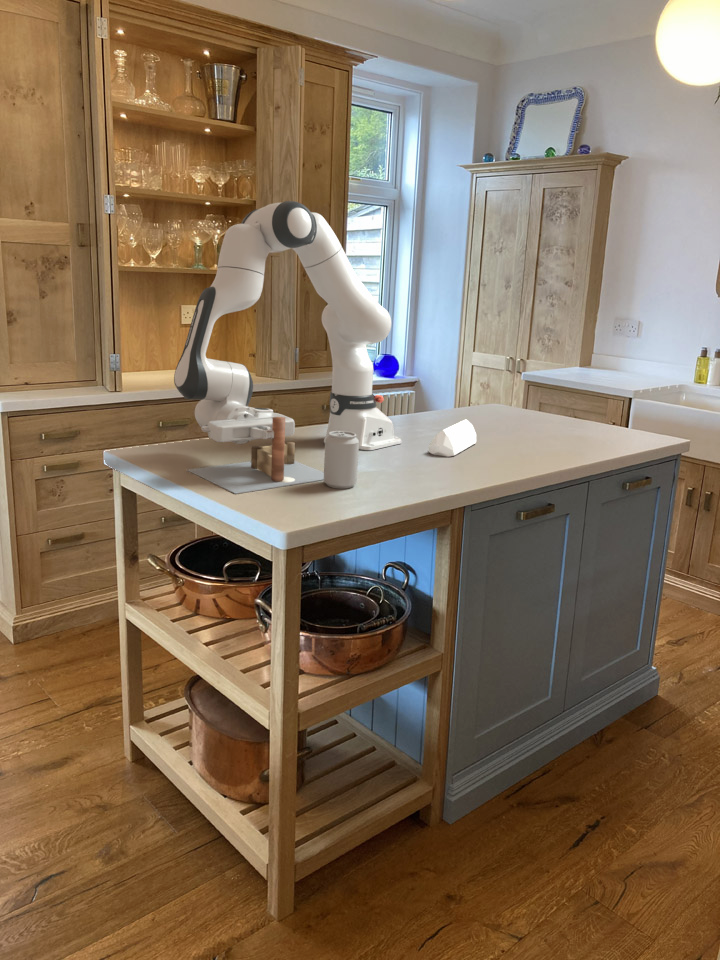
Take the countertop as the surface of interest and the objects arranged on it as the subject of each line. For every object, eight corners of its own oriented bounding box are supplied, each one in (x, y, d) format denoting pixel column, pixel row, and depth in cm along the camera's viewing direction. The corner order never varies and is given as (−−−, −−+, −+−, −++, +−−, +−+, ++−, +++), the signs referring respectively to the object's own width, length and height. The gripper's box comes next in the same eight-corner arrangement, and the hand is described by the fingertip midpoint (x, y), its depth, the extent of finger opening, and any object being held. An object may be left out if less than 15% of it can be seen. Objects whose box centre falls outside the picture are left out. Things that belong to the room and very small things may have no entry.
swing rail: (253, 468, 182) (254, 409, 178) (264, 467, 183) (265, 409, 179) (274, 481, 172) (275, 419, 168) (285, 480, 173) (287, 418, 170)
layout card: (284, 457, 196) (284, 456, 196) (337, 477, 180) (337, 477, 179) (186, 470, 179) (187, 469, 179) (235, 494, 163) (235, 493, 163)
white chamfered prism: (459, 446, 202) (485, 431, 223) (438, 429, 204) (466, 416, 225) (443, 467, 206) (471, 451, 227) (423, 451, 207) (452, 436, 228)
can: (327, 490, 170) (329, 436, 166) (320, 480, 176) (322, 429, 173) (360, 489, 172) (363, 436, 168) (351, 480, 178) (354, 429, 175)
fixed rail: (290, 461, 191) (291, 441, 190) (296, 463, 190) (296, 443, 188) (249, 466, 184) (249, 446, 183) (254, 469, 182) (254, 448, 181)
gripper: (197, 413, 173) (228, 424, 162) (275, 408, 185) (308, 417, 175) (197, 441, 174) (227, 453, 164) (275, 433, 187) (307, 445, 176)
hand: (270, 435), depth 169 cm, fingers closed
